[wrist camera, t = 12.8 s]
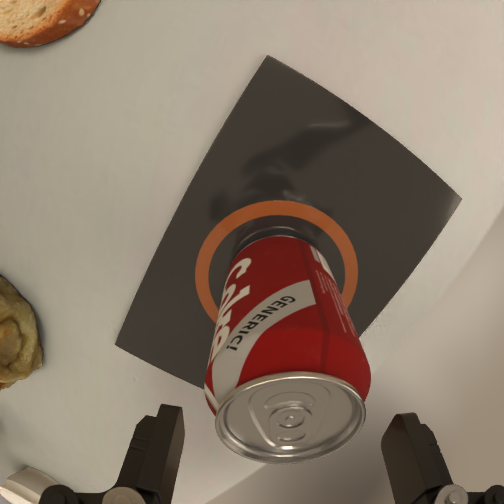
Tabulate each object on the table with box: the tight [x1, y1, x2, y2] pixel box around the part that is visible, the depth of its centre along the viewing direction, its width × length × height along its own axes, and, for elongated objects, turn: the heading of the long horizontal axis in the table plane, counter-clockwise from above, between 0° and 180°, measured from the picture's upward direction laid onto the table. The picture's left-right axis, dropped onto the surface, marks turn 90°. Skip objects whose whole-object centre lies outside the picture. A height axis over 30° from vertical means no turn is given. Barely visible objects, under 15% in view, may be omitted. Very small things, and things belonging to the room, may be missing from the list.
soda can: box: [204, 235, 371, 464], centre depth 16 cm, size 7×7×12 cm
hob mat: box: [115, 55, 462, 389], centre depth 22 cm, size 24×16×1 cm, turn 149°
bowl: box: [0, 467, 60, 504], centre depth 36 cm, size 16×16×8 cm
